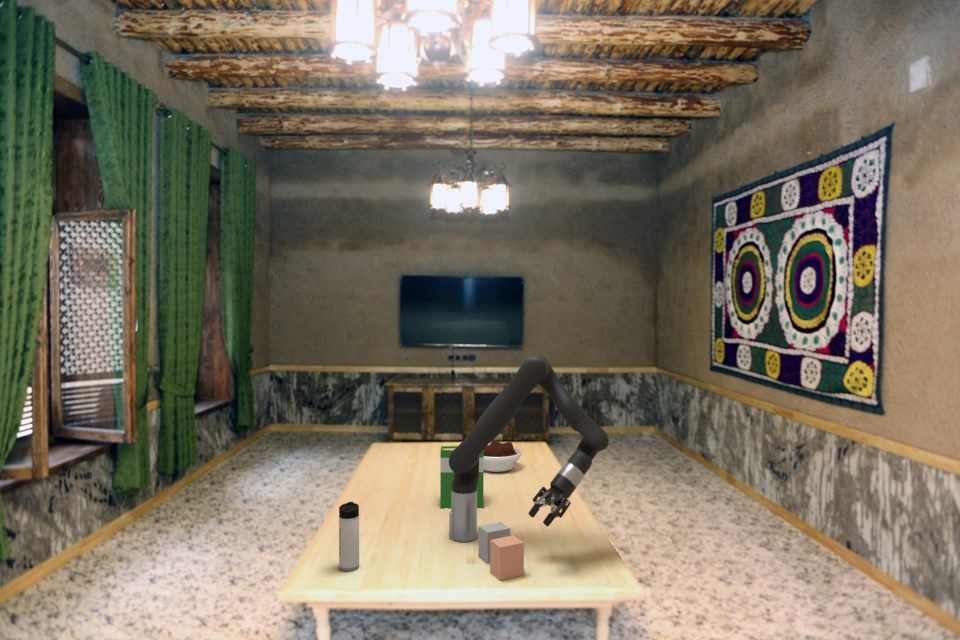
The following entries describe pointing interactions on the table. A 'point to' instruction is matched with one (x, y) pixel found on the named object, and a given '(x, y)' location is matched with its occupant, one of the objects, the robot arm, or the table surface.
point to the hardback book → (448, 476)
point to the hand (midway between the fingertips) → (537, 520)
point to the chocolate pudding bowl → (500, 456)
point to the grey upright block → (490, 538)
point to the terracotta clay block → (506, 557)
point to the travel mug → (349, 536)
